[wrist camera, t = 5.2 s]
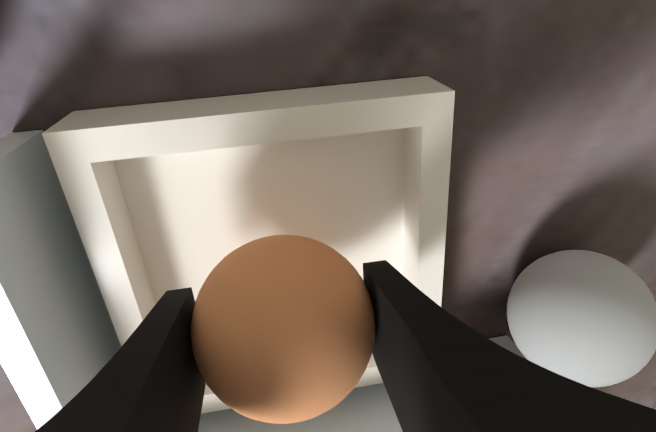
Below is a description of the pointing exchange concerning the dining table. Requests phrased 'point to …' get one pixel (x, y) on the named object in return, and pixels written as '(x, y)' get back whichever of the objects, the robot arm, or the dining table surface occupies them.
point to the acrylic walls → (94, 307)
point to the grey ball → (583, 317)
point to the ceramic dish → (257, 185)
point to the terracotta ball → (283, 329)
